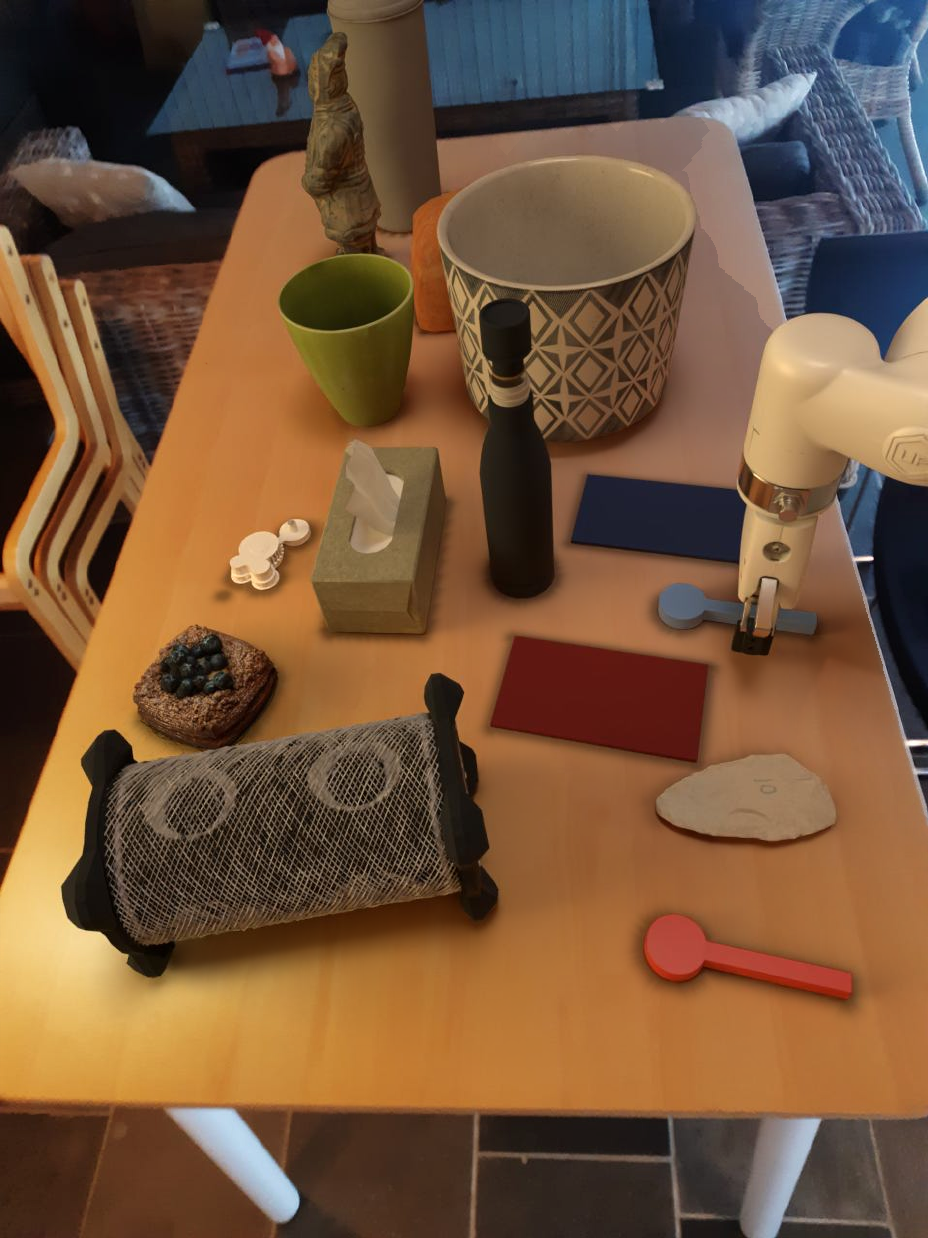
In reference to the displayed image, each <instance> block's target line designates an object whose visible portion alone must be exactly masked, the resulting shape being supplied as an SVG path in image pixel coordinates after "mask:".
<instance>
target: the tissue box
mask: <svg viewBox="0 0 928 1238" xmlns="http://www.w3.org/2000/svg"><path fill="white" fill-rule="evenodd" d="M347 443H348V444H349V445H348V446H347V447H345V450H344V453H343V457H342V461H341V465H340V468H339V472H338V475H337V479H336V483H335V486H334V489H333V490H334V491H333V493H332V498H331V501H330V505H329V507H328V508H329V509H328V513H327V515H326V519H325V524H324V527H323V531H322V535H321V538H320V542H319V545H318V548H317V552H316V555H315V556H316V557H315V560H314V564H313V568H312V571H311V573H310V574H311V575H310V578H309V581H310V585H311V586H312V589H313V593H314V594H315V597H316V601H317V603H318V606H319V608H320V611H321V614H322V616H323V619H324V622H325V625H326V627H327V630H328V631H329V632H337V633H338V632H341V633H379V634H380V633H381V634H415V635H416V634H418V635H419V634H421V635H422V634H424V633H426V630H427V625H428V624H427V623H428V618H429V613H430V605H431V598H432V593H433V586H434V582H435V581H434V580H435V575H436V568H437V561H438V557H439V549H440V543H441V537H442V531H443V525H444V519H445V513H446V507H447V506H446V505H447V496H446V491H445V484H444V477H443V471H442V466H441V458H440V454H439V448H438V447H437V446H371V445H370V444H367V443H364V442H362V441H361V440H359V439H358V438H355V439H353V440H352V441H351V442H347Z"/></svg>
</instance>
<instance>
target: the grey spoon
mask: <svg viewBox="0 0 928 1238" xmlns="http://www.w3.org/2000/svg"><path fill="white" fill-rule="evenodd" d="M743 607H744V603H743V602H735V601H728V600H719V599H713V598H707V596H706V594H705V593H704V592H703V590H701V589H700V588H698V587H697V586H695V585H694V584H691V583H683V582H679V583H674V584H670V585H669V586H667V587H665V588H664V589H663V590H662V591H661V593H660V594H659V598H658V607H657V612H658V616H659V618H660V620H661V621H662V622H663V623H664V625H665V624H666V625H667V626H668V627H670V628H673V629H676V630H690V629H694V628H696V627H698V626H699V625H700V624H701V623H703V621H708V622H716V623H724V624H731V625H737V621H738V620H741V618H742V613H743ZM756 609H757V604H751V609H750V615H749V617H750V618H755V616H756ZM817 626H818V613H817V612H811V611H804V610H795V609H782V608H781V607H779V609H778V615H777V620H776V631H782V632H789V633H797V634H802V635H809V636H810V635H811V636H813V635H814V634H815V631H816V629H817Z"/></svg>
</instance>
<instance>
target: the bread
mask: <svg viewBox="0 0 928 1238" xmlns="http://www.w3.org/2000/svg"><path fill="white" fill-rule="evenodd" d="M465 187H466V186H464V187H461V188H458V189H455V190H452V191H449V192H446V193H443V194H442V195H441V196H438V197H435V198H432V199H430V200H429V201H428V202H426V203H425V204H423V205H422V206H421V207H419V208H418V210H417V211H416V212H415V213H414V214H413V231H412V233H411V234H412V235H411V236H412V239H411V245H410V253H409V258H410V268H411V269H410V270H411V275H412V277H413V281H414V313H415V315H416V320H417V325H418V328H419V329H421V330H424V331H428V332H434V333H439V332H448V331H456V329H455V324H454V319H453V314H452V309H451V303H450V298H449V293H448V288H447V283H446V278H445V273H444V268H443V263H442V258H441V253H440V248H439V242H438V237H437V225H438V220H439V218H440V215H441V213H442V211H443V209H444V208H445V206H446V205H447V204H448V202H449V201H450V200H451V199H452V198H453V197H454V196H455V195H456V194H457V193H458V192H460V191H461V190H462V189H463V188H465Z"/></svg>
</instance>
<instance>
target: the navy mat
mask: <svg viewBox="0 0 928 1238" xmlns="http://www.w3.org/2000/svg"><path fill="white" fill-rule="evenodd" d="M746 507H747V504H746V503H745V502H744V501H743V499H742V498H741V496H740V494H739V492H738V490H737V488H736V489H735V488H726V487H725V488H723V487H717V486H716V487H715V486H705V485H696V484H687V483H678V482H677V483H676V482H668V481H667V482H666V481H657V480H649V479H638V478H629V477H621V476H610V475H599V474H589V473H587V475H586V479H585V483H584V487H583V491H582V495H581V500H580V502H579V507H578V510H577V515H576V519H575V522H574V525H573V531H572V535H571V538H570V543H571V544H579V545H587V546H595V547H602V548H603V547H604V548H610V549H611V548H612V549H621V550H628V551H635V552H643V553H652V554H660V555H670V556H676V557H684V558H693V559H699V560H708V561H717V562H724V563H725V562H726V563H732V564H733V563H735V564H740V550H741V539H742V531H743V523H744V517H745V512H746Z"/></svg>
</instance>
